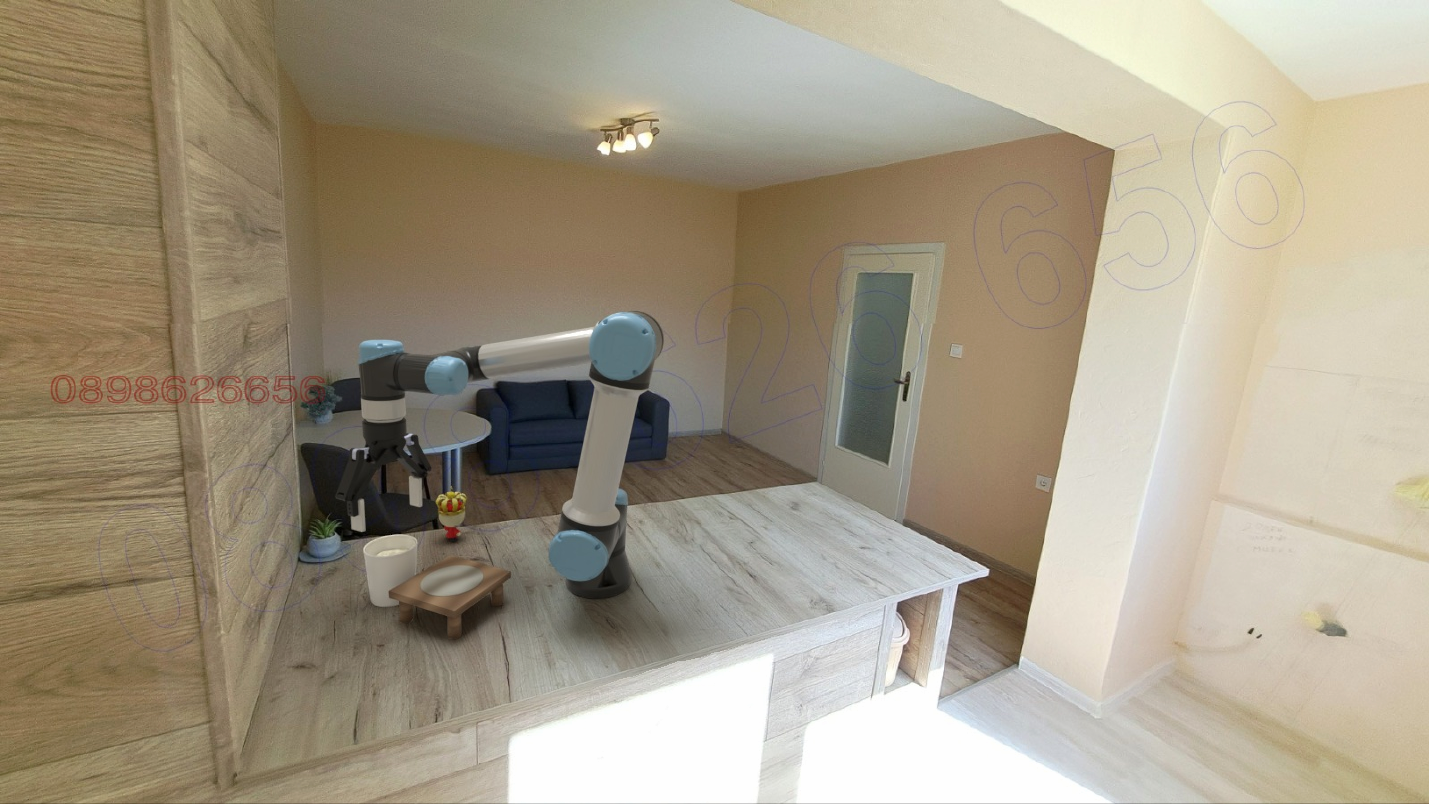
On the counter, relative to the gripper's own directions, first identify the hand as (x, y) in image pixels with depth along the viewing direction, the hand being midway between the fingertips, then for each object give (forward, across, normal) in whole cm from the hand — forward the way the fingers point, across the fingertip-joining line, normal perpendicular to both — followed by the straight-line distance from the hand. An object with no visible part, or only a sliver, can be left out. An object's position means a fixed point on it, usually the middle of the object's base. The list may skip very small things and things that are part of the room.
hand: (389, 517), depth 112 cm
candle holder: (+18, 0, 0) cm, 18 cm away
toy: (+18, -25, -8) cm, 32 cm away
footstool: (+18, -1, +15) cm, 24 cm away
